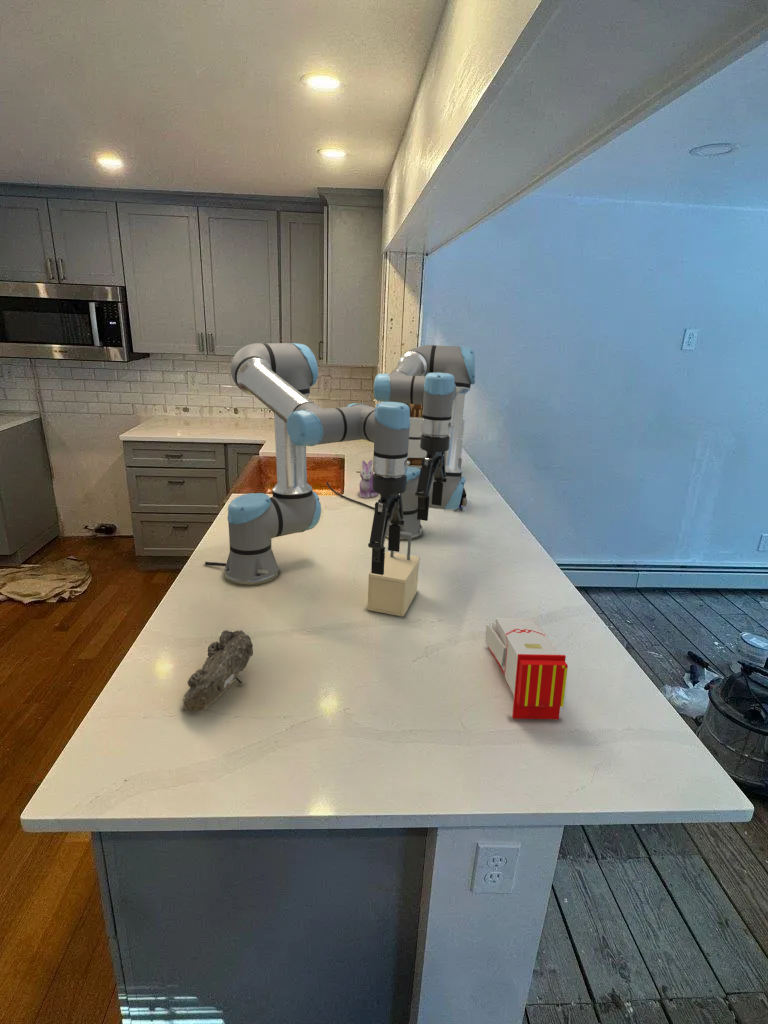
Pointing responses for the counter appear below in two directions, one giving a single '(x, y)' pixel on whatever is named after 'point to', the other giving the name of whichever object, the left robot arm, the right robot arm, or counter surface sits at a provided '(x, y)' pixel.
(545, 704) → the toy
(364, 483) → the figurine
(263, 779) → the counter surface
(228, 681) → the fossil
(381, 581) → the chest
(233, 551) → the left robot arm
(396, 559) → the lid
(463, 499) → the figurine character
